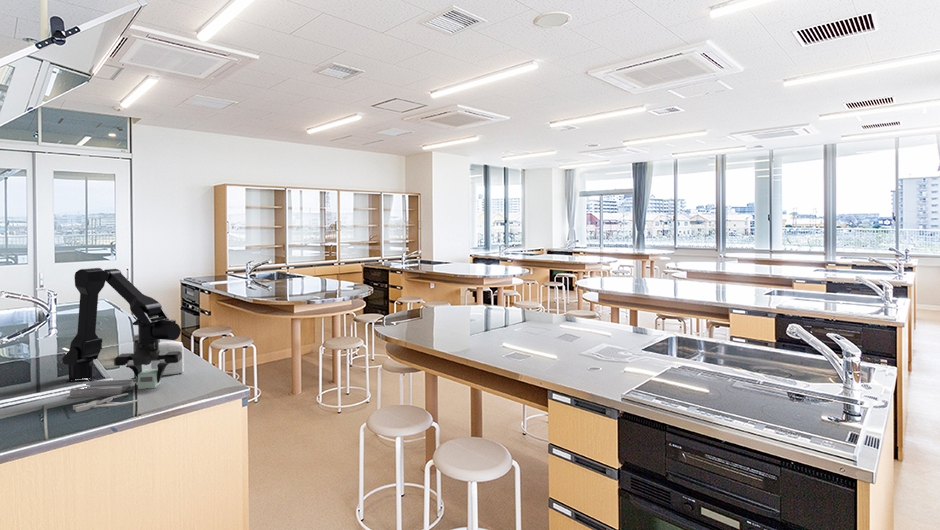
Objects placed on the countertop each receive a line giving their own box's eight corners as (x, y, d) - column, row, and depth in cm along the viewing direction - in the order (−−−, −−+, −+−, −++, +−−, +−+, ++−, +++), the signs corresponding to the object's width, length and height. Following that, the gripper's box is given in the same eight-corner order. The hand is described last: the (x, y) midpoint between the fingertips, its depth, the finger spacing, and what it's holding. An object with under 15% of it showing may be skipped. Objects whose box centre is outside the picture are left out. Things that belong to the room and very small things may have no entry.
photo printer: (183, 370, 183) (183, 338, 182) (184, 373, 179) (183, 341, 178) (151, 374, 177) (150, 341, 176) (151, 377, 173) (150, 344, 172)
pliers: (138, 397, 151) (79, 410, 139) (139, 402, 151) (79, 416, 139) (127, 390, 156) (69, 402, 145) (127, 395, 157) (69, 407, 145)
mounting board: (67, 398, 151) (67, 392, 151) (86, 385, 163) (86, 379, 163) (119, 395, 155) (119, 389, 155) (134, 382, 167) (134, 377, 167)
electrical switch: (161, 352, 207) (160, 331, 206) (159, 356, 203) (158, 335, 201) (134, 354, 203) (133, 333, 201) (132, 358, 198) (131, 337, 197)
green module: (137, 389, 161) (137, 374, 161) (144, 383, 167) (144, 369, 167) (154, 388, 163) (154, 373, 162) (160, 382, 169) (160, 368, 168)
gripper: (106, 345, 153) (107, 392, 154) (172, 342, 159) (173, 388, 160) (120, 337, 164) (121, 381, 165) (182, 335, 169) (182, 378, 171)
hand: (149, 382), depth 165 cm, fingers closed on green module, 5 cm apart
